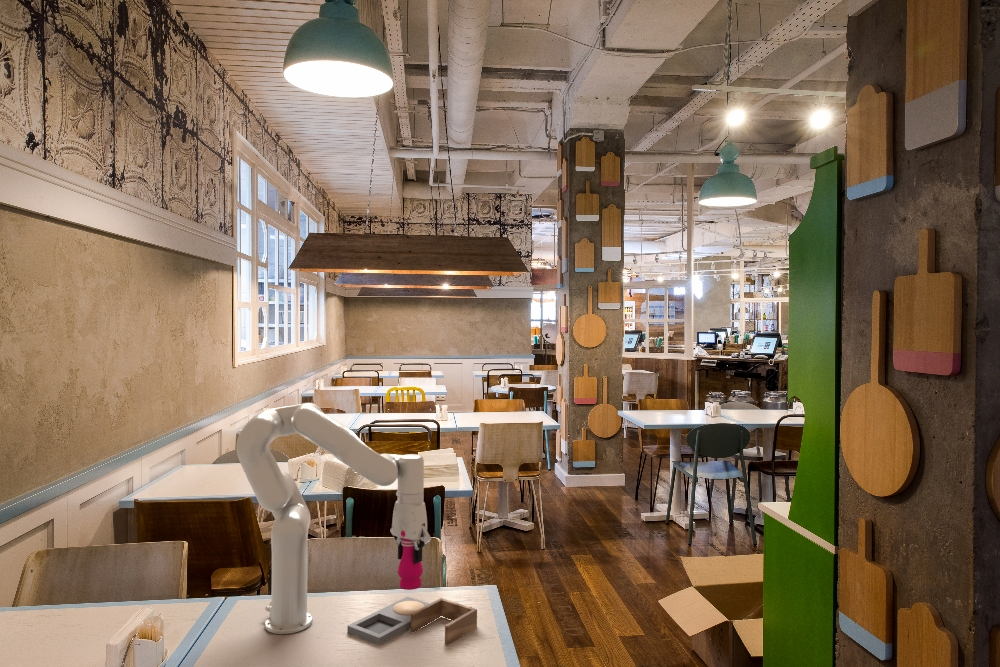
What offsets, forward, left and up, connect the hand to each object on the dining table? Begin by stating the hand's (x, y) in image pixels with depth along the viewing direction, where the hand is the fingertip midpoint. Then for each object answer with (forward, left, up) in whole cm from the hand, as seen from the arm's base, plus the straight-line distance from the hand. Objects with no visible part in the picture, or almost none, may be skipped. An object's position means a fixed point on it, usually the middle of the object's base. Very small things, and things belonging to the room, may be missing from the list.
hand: (410, 559), depth 186 cm
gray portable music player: (0, -6, -16) cm, 17 cm away
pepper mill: (0, 0, -8) cm, 8 cm away
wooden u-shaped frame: (+14, -1, -16) cm, 21 cm away
